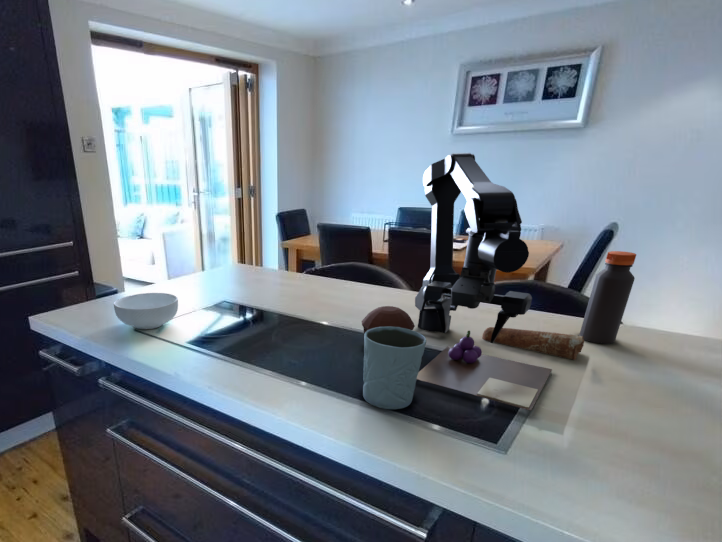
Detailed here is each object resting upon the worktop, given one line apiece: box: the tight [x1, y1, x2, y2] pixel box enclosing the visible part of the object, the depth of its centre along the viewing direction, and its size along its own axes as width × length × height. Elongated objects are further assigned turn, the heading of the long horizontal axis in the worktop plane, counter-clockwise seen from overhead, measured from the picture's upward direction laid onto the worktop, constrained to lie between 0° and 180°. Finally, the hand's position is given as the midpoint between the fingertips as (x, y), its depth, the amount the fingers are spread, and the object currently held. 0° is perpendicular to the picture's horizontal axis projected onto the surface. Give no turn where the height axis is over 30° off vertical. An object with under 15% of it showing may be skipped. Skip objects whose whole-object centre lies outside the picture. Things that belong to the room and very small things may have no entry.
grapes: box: [449, 330, 483, 363], centre depth 90 cm, size 6×6×6 cm
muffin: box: [361, 305, 416, 335], centre depth 98 cm, size 12×11×10 cm
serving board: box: [417, 346, 553, 411], centre depth 85 cm, size 20×20×1 cm
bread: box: [482, 326, 585, 361], centre depth 96 cm, size 6×19×6 cm, turn 46°
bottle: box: [579, 250, 637, 345], centre depth 99 cm, size 7×7×20 cm
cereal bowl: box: [113, 292, 179, 330], centre depth 119 cm, size 17×17×7 cm
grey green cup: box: [362, 327, 427, 410], centre depth 77 cm, size 10×10×12 cm
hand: (467, 337), depth 90 cm, fingers open, 9 cm apart
